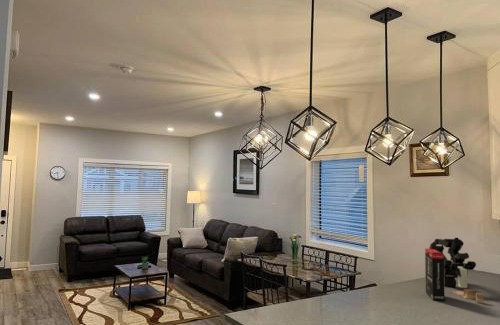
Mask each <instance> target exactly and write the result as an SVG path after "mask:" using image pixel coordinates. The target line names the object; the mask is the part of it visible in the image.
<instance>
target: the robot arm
mask: <svg viewBox="0 0 500 325" xmlns="http://www.w3.org/2000/svg"><path fill="white" fill-rule="evenodd" d="M463 246H464V241H463V240H462V239H460V238H458V237H454V238H444V239H442V238H436V239H434V241H433V242H431V243H430V246H429V247H428V249H435V250H437V251H439V252H441V253H442V254H444V251H445V250H444V249H445V248H448V249H447V254H449V256H450V259H447V257H446V255H445V254H444V288H445V287H447V288H454V289H455V288H456V287H457V280H456V279H458V276H460V277H461V274H460V272H459V269H458V268H464V269H467V278H468V276H469V275H468V274H469V273H468V272H469V271H473V270H474V269H475V268H476V267H477V264H476V262H475V261H471V260H468V261H467V262H465V261H466V260H467V259H469V258H470V255H469V253H468V252H464V253H461V252H460V251H461V250H462V248H463ZM468 270H469V271H468Z"/></svg>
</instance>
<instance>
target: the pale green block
mask: <svg viewBox="0 0 500 325" xmlns="http://www.w3.org/2000/svg"><path fill="white" fill-rule="evenodd" d="M458 269H459V272H460V274H461V277H460V276H458V278H457V286H458V287H459V288H462V289H463V288H464V289H468V277H467V269H464V268H463V267H458Z"/></svg>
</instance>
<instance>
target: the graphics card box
mask: <svg viewBox="0 0 500 325" xmlns="http://www.w3.org/2000/svg"><path fill="white" fill-rule="evenodd" d="M444 255H445V254H444V253H443V254H442V253H441V252H439V251H437V250H435V249H429V248H425V249H424V259H425V260H424V262H425V264H424V265H425V269H424V272H425V273H424V274H425V293H426V294H427V296H429V298H430V299H431V300H432V301H437V302H445V300H446V299H445V286H444Z"/></svg>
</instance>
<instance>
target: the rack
mask: <svg viewBox="0 0 500 325" xmlns="http://www.w3.org/2000/svg"><path fill="white" fill-rule="evenodd" d="M462 289H463V288H462ZM462 291H463V292H464V295H461V297H462V298H464V299H468V300H475V303H476V304H485V294H484V293H477V290H474V289H471V288H469V289H468V288H464V289H463V290H462Z"/></svg>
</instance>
